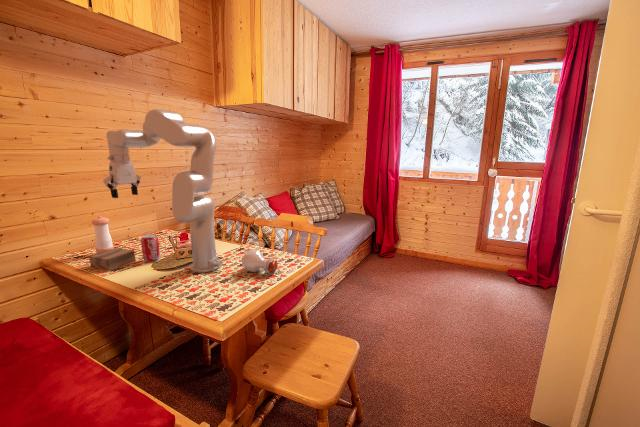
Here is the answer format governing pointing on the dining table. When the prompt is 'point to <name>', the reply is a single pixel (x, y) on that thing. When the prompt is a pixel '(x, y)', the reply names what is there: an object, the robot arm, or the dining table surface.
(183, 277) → the dining table surface
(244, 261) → the potion bottle
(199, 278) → the dining table surface
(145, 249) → the soda can
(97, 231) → the pepper shaker
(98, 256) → the walnut block
